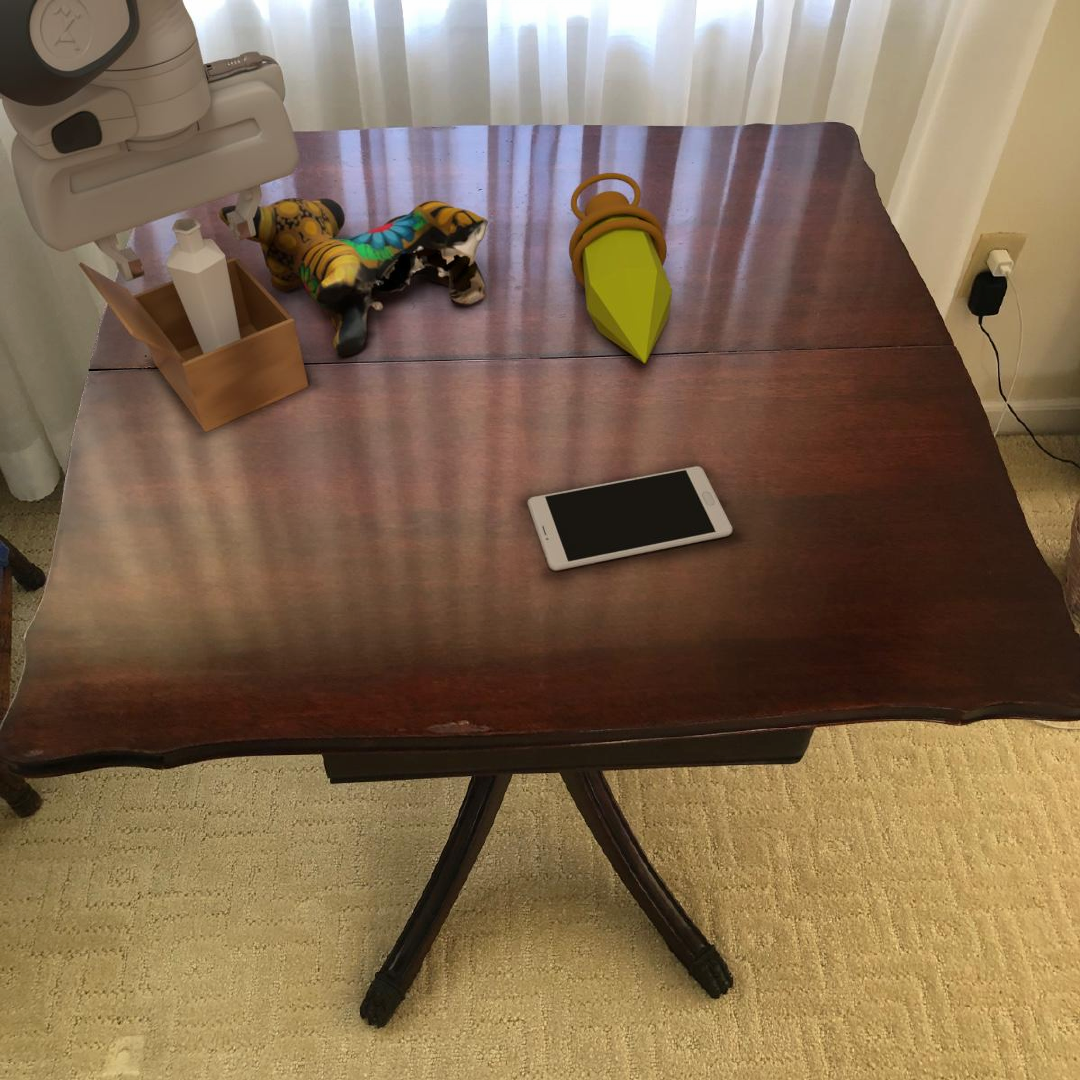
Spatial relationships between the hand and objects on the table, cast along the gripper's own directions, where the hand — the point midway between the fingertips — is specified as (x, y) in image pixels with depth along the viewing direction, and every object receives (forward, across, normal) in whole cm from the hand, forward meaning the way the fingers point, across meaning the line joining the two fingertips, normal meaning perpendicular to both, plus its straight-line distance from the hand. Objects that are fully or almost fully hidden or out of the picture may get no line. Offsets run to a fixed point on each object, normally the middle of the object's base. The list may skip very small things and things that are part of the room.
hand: (189, 254), depth 79 cm
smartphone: (+12, -18, +34) cm, 41 cm away
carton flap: (+3, +6, 0) cm, 6 cm away
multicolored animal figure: (+13, -17, -3) cm, 21 cm away
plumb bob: (+12, -36, +12) cm, 40 cm away
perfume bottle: (+12, -1, 0) cm, 12 cm away
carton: (+13, 0, 0) cm, 13 cm away
